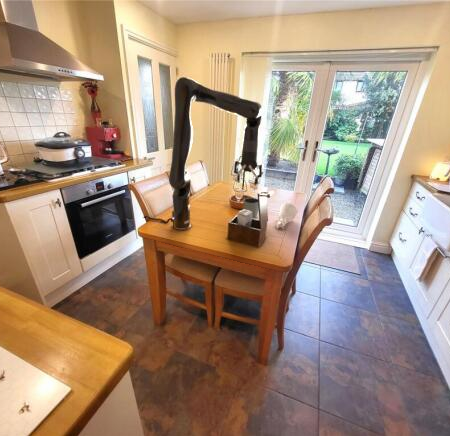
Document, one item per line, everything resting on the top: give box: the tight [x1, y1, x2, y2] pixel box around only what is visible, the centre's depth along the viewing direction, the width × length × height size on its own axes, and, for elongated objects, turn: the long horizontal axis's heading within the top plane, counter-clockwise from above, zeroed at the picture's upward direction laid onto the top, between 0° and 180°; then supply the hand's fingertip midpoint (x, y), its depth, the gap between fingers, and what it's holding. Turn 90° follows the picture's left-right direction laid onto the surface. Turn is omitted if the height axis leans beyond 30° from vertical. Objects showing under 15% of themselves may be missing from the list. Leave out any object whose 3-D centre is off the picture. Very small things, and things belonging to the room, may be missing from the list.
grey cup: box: [242, 197, 259, 219], centre depth 149 cm, size 10×10×12 cm
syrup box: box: [236, 208, 253, 227], centre depth 124 cm, size 6×6×14 cm
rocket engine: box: [275, 202, 299, 230], centre depth 143 cm, size 12×12×18 cm
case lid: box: [257, 186, 275, 230], centre depth 115 cm, size 18×12×5 cm
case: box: [227, 214, 268, 248], centre depth 125 cm, size 18×12×10 cm, turn 64°
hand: (247, 183), depth 115 cm, fingers open, 8 cm apart
